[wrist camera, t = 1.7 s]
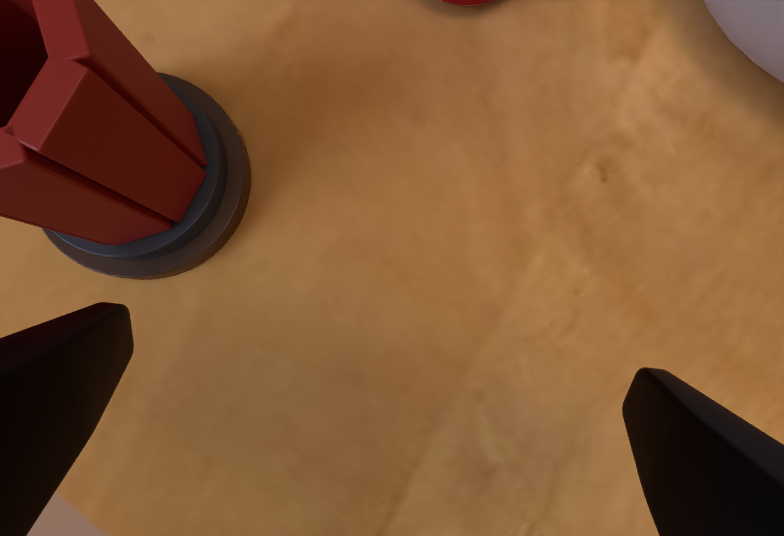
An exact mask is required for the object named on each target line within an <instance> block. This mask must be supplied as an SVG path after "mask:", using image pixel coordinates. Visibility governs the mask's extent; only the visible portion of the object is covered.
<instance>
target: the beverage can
mask: <svg viewBox="0 0 784 536" xmlns="http://www.w3.org/2000/svg"><path fill="white" fill-rule="evenodd" d="M440 1H443V2H446V3H449V4H454V5H461V6H473V5H481V4H485V3H489V2H491V1H494V0H440Z"/></svg>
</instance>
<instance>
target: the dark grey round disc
mask: <svg viewBox="0 0 784 536" xmlns="http://www.w3.org/2000/svg"><path fill="white" fill-rule="evenodd" d="M156 73H157V74H158V75H159V76H160V77H161V78H162V79H163V81H164V82H165V83H166V84H167V85H168V86H169V87H170V89H171V90H172V91H173V92H174V93H175V94H176V96H177V97H178V98H179V99H180V100H181V101H182V102H183V104H184V105H185V106H186V107H187V109H188V110H189V111H190V112H191V113H192V114H193V118H194V121H195V124H196V127H197V130H198V134H199V137H200V140H201V143H202V147H203V150H204V153H205V156H206V159H207V165H206V166H203V167H201V168H202V169H203V170H204V171H205V172H206V173H207V174H206V176H205V178H204V180H203V182H202V184H201V185H200V187H199V189H198V191H197V192H196V194H195V196H194V198H193V200H192V201H191V203H190V205H189V207H188V209H187V210H186V212H185V214H184V216H183V218H182V219H181V221H180V222H179V223H178V222H175V221H173V220H171V219H170V222H171V225H172V229H170V230H167V231H164V232H160V233H157V234H154V235H151V236H148V237H144V238H141V239H138V240H135V241H132V242H129V243H125V244H122V245H119V246H114V245H111V244H108V245H102V244H99V243H95V242H91V241H88V240H84V239H81V238H77V237H73V236H70V235H66V234H63V233H59V232H56V231H52V230H48V229H45V228H42V229H43V231H44V232H45V234H46V235H47V236H48V238H49V239H50V241H51V242H52V243H53V244H54V245H55V246H56V247H57V248H58V249H59V250H60V251H61V252H63V253H64V254H65V255H66V256H68V257H69V258H70V259H72V260H73V261H75V262H77V263H78V264H80V265H82V266H84V267H86V268H88V269H91V270H93V271H96V272H99V273H103V274H106V275H110V276H116V277H122V278H129V279H140V280H151V279H159V278H165V277H169V276H173V275H177V274H180V273H182V272H185V271H187V270H190V269H192V268H194V267H196V266H197V265H199V264H201V263H203V262H204V261H205V260H207V259H208V258H210V257H211V256H212V255H214V254H215V253H216V252H217V251H218V250H219V249H220V248H221V247H222V246H223V245H224V244H225V243H226V242H227V240H228V239H229V238H230V237H231V235H232V234H233V232H234V231H235V229H236V228H237V226H238V224H239V222H240V220H241V218H242V216H243V214H244V211H245V208H246V205H247V201H248V197H249V191H250V177H251V173H250V164H249V158H248V154H247V150H246V147H245V145H244V142H243V140H242V137H241V136H240V134H239V132H238V130H237V129H236V127H235V125H234V124H233V123H232V121H231V120H230V118H229V117H228V116H227V114H226V113H225V112H224V110H223V109H222V108H221V106H220V105H219V104H218V103H217V102H216V101H215V100H214V99H213V98H212V97H211V96H209V95H208V94H207V93H205V92H204V91H203V90H201V89H200V88H198V87H196V86H195V85H193V84H191V83H190V82H187V81H185V80H183V79H180V78H178V77H175V76H171V75H168V74H164V73H158V72H156Z"/></svg>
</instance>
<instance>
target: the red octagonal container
mask: <svg viewBox="0 0 784 536" xmlns="http://www.w3.org/2000/svg"><path fill="white" fill-rule="evenodd" d="M206 165H207V159H206V156H205V153H204V150H203V147H202V143H201V140H200V137H199V134H198V130H197V127H196V124H195V121H194V118H193V114H192V113H191V112H190V111H189V110H188V109H187V107H186V106H185V105H184V104H183V102H182V101H181V100H180V99H179V98H178V97H177V96H176V94H175V93H174V92H173V91H172V90H171V89H170V87H169V86H168V85H167V84H166V83H165V82H164V81H163V79H162V78H161V77H160V76H159V75H158V74H157V73H156V71H155V70H154V69H153V68H152V67H151V66H150V64H149V63H148V62H147V61H146V60H145V59H144V58H143V56H142V55H141V54H140V53H139V52H138V51H137V49H136V48H135V47H134V46H133V45H132V44H131V43H130V41H129V40H128V39H127V38H126V37H125V36H124V34H123V33H122V32H121V31H120V30H119V29H118V28H117V26H116V25H115V24H114V23H113V22H112V21H111V20H110V18H109V17H108V16H107V15H106V14H105V13H104V11H103V10H102V9H101V8H100V7H99V6H98V5H97V3H96V2H95V1H94V0H0V216H2V217H5V218H9V219H12V220H16V221H20V222H23V223H27V224H30V225H34V226H38V227H41V228H45V229H48V230H52V231H56V232H59V233H63V234H66V235H70V236H73V237H77V238H81V239H84V240H88V241H91V242H95V243H99V244H102V245H108V244H111V245H114V246H119V245H122V244H125V243H129V242H132V241H135V240H138V239H141V238H144V237H148V236H151V235H154V234H157V233H160V232H164V231H167V230H170V229H172V225H171V222H170V219H171V220H173V221H175V222H178V223H179V222H180V221H181V219H182V218H183V216H184V214H185V212H186V210H187V209H188V207H189V205H190V203H191V201H192V200H193V198H194V196H195V194H196V192H197V191H198V189H199V187H200V185H201V184H202V182H203V180H204V178H205V176H206V174H207V173H206V172H205V171H204V170H203V169H202V168H201V167H203V166H206Z"/></svg>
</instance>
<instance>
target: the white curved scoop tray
mask: <svg viewBox="0 0 784 536" xmlns="http://www.w3.org/2000/svg"><path fill="white" fill-rule="evenodd" d="M704 2H705V4H706V7H707V9H708V11H709V12H710V14H711V15H712V17H713V18H714V19H715V21H716V22H717V24H718V25H719V26H720V28H721V29H722V31H723V32H724V33H725V35H726V36H727V38H728V39H729V40H730V41H731V42H732V43H733V44H734V45H735V46H736V47H737V48H739V49H740V50H741V51H742V52H743V53H744V54H745V55H746V56H747V57H748V58H749V59H750V60H751V61H752V62H754V63H755V64H756V65H757V66H758V67H760V68H761V69H763V70H764V71H766V72H767V73H769V74H770V75H772V76H773V77H775V78H776V79H778V80H779V81H781V82H782V83H784V0H704Z"/></svg>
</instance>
